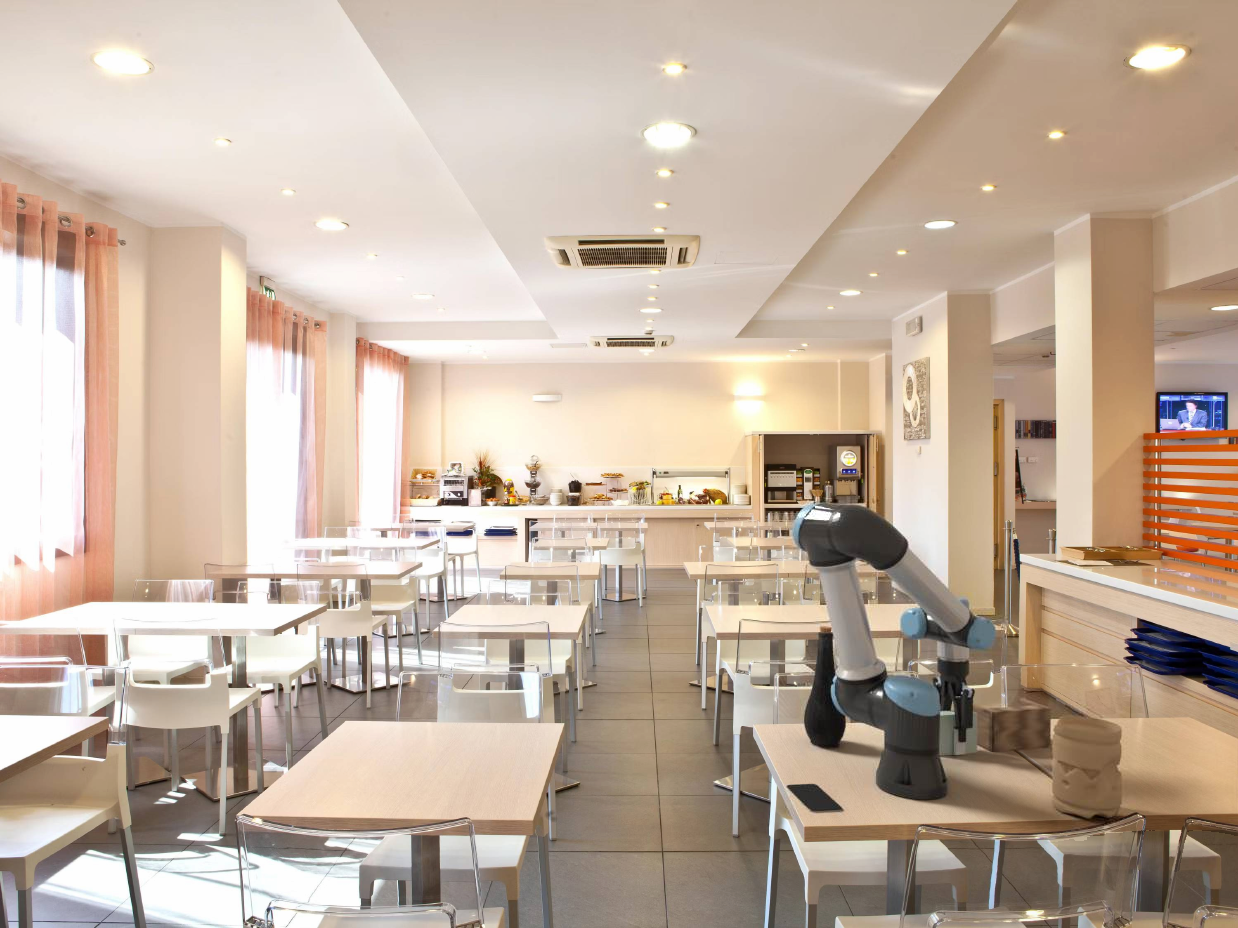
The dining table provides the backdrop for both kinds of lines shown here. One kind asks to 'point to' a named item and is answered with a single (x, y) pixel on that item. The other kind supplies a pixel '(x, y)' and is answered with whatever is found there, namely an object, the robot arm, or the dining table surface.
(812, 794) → the smartphone
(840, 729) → the bottle
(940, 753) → the door
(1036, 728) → the cabinet
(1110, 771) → the container
